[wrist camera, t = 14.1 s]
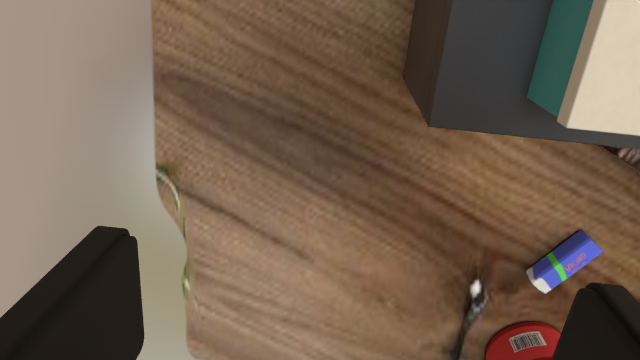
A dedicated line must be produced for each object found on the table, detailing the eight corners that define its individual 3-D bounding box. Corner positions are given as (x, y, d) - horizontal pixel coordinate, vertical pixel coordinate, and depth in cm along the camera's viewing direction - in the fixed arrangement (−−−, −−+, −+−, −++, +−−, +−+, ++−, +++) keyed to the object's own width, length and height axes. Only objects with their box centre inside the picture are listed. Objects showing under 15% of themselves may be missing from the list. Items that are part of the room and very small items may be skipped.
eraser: (522, 269, 42) (531, 283, 40) (579, 227, 40) (590, 239, 38) (537, 282, 42) (545, 296, 40) (593, 241, 40) (605, 253, 38)
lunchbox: (629, 110, 23) (698, 142, 18) (523, 99, 23) (565, 128, 18) (698, -78, 20) (803, -97, 15) (574, -90, 20) (642, -112, 15)
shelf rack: (402, 78, 36) (427, 126, 24) (432, -101, 31) (481, -152, 19) (585, 97, 35) (703, 156, 23) (643, -81, 31) (827, -120, 19)
